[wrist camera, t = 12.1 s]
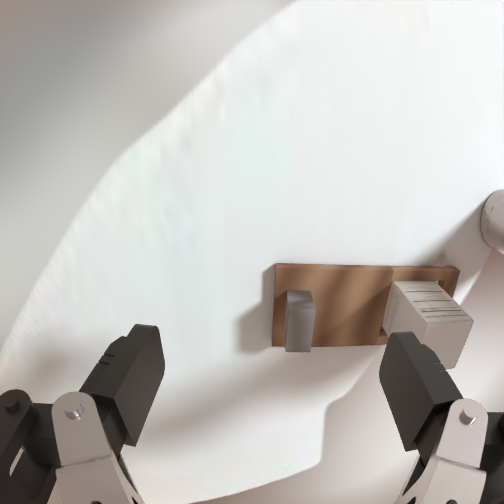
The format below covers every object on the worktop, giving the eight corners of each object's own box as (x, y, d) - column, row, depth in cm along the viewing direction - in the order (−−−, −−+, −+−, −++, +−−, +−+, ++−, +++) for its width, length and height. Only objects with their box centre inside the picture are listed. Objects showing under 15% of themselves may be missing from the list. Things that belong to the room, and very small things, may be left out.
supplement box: (419, 318, 41) (454, 370, 29) (377, 320, 41) (406, 376, 29) (431, 275, 38) (476, 320, 27) (387, 274, 39) (426, 323, 27)
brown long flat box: (454, 267, 38) (477, 285, 31) (434, 334, 42) (451, 358, 36) (275, 263, 39) (277, 286, 33) (271, 340, 43) (272, 369, 37)
